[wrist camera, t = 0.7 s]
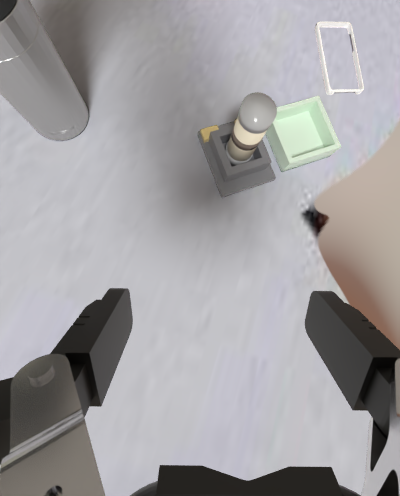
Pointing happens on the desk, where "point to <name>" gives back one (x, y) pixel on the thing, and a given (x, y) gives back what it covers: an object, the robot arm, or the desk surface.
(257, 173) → the holder
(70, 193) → the desk surface
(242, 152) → the grey beige cylinder
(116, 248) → the desk surface
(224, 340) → the desk surface
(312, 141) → the tray
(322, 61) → the phone case
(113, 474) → the desk surface
